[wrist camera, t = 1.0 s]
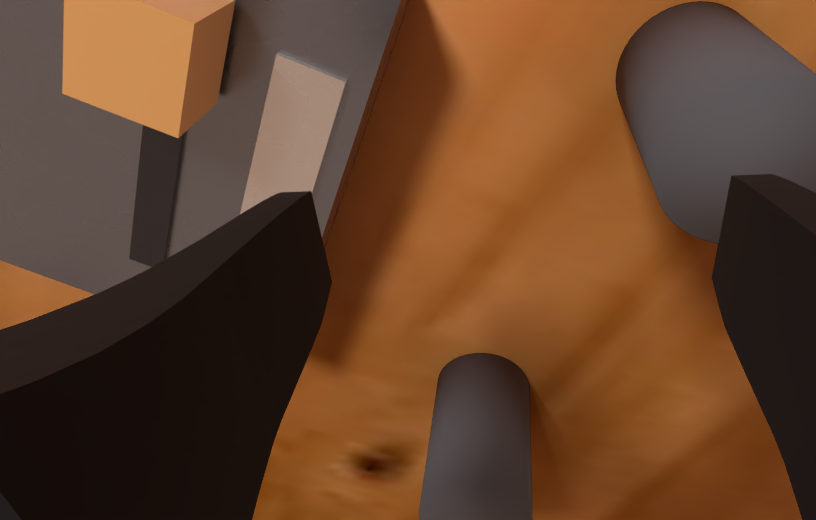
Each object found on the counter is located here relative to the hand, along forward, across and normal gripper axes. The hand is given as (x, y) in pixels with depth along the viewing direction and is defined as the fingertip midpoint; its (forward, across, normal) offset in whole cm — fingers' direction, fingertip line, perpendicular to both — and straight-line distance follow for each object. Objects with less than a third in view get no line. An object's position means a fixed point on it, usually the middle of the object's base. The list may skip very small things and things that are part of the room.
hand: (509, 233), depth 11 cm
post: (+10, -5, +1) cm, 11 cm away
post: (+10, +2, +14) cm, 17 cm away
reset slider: (+7, +9, -2) cm, 11 cm away
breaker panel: (+10, +11, +1) cm, 15 cm away
